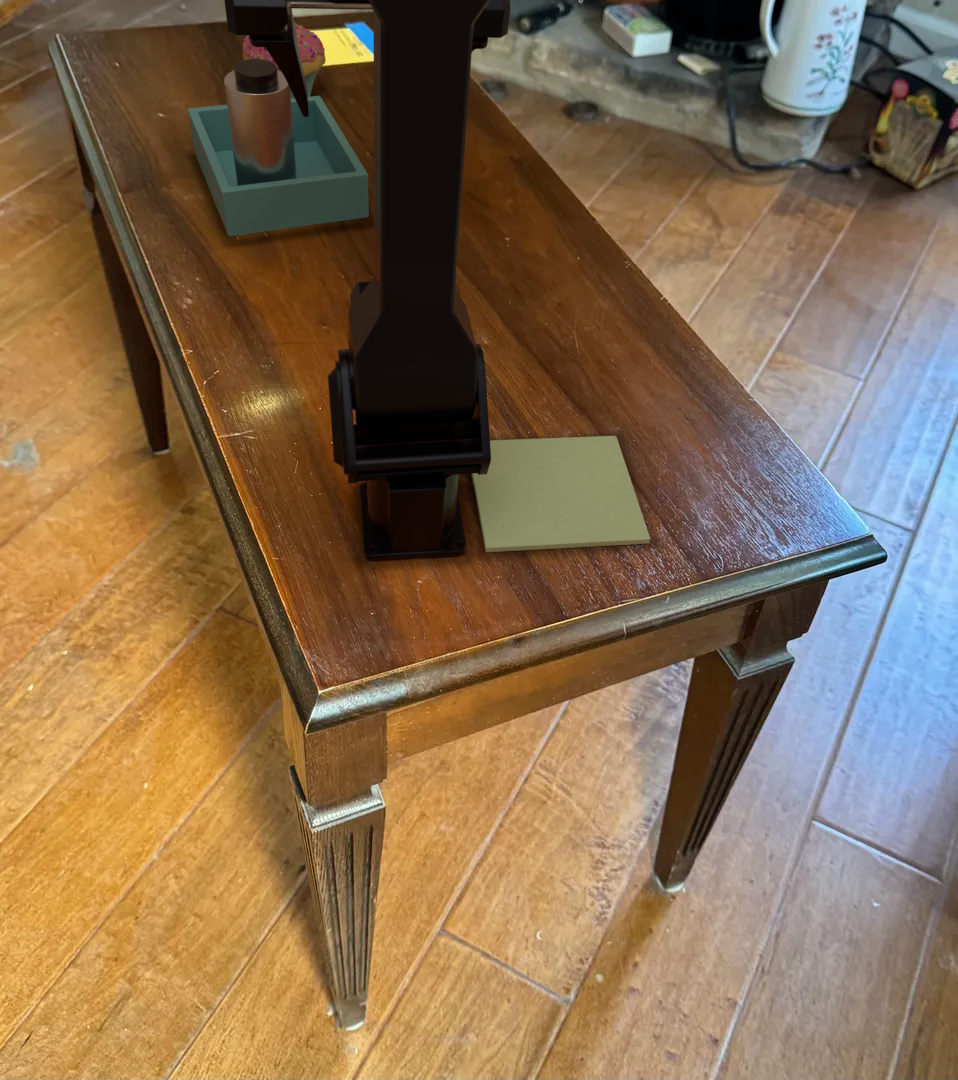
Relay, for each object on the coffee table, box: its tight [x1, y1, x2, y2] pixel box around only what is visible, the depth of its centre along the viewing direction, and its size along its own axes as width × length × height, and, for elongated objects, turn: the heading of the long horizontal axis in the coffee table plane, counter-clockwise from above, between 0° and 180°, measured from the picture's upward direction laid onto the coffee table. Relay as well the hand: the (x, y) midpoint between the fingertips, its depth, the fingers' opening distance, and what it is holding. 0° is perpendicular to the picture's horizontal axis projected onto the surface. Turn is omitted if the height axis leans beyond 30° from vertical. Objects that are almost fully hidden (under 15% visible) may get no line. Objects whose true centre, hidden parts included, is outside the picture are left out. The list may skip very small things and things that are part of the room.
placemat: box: [470, 435, 651, 553], centre depth 65 cm, size 10×11×1 cm
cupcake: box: [242, 21, 327, 99], centre depth 96 cm, size 9×8×12 cm
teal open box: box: [187, 95, 370, 237], centre depth 87 cm, size 16×13×5 cm
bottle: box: [223, 59, 297, 186], centre depth 81 cm, size 5×5×12 cm
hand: (368, 113), depth 71 cm, fingers open, 9 cm apart
